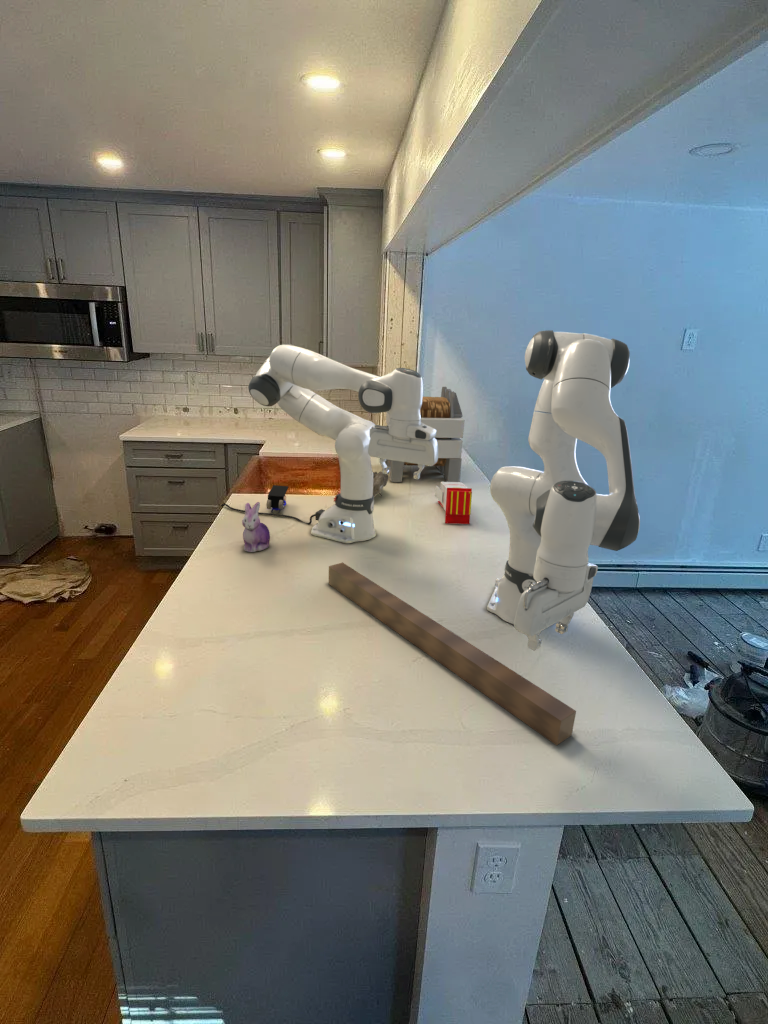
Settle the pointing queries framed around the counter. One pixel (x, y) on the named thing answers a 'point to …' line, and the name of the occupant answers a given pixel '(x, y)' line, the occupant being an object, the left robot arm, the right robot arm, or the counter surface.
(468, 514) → the red striped box
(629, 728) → the counter surface
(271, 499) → the figurine character
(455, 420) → the white boxy stand
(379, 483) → the fossil
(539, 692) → the beam
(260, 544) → the figurine
